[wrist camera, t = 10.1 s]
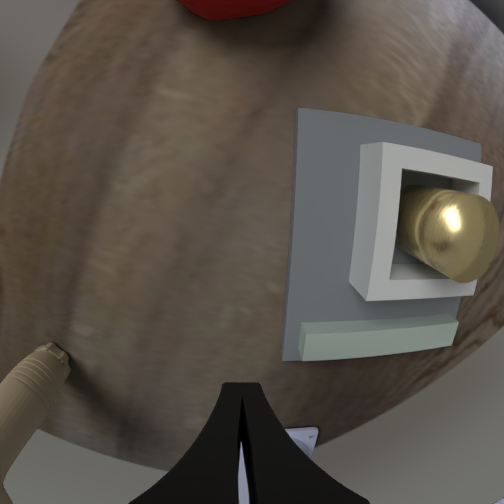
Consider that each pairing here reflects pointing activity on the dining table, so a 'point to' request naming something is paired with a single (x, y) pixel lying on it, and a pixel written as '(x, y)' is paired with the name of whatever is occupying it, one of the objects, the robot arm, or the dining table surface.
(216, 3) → the red tomato
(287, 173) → the dining table surface
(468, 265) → the brass cylinder
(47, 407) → the handle
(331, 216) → the jig
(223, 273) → the dining table surface
